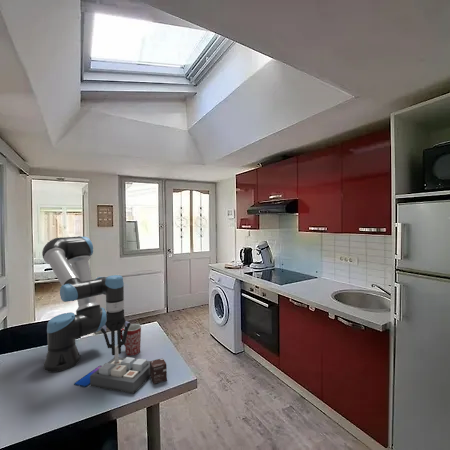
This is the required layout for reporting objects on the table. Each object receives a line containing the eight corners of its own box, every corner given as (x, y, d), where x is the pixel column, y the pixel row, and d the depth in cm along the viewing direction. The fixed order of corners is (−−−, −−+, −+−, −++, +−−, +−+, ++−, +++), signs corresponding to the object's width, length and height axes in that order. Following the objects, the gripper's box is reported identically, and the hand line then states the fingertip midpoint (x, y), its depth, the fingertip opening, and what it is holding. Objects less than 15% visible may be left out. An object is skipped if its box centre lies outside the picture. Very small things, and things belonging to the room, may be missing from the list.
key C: (123, 383, 109) (123, 375, 109) (129, 377, 114) (129, 369, 114) (132, 384, 108) (132, 377, 108) (138, 378, 112) (138, 371, 112)
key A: (109, 370, 119) (109, 363, 119) (116, 365, 123) (115, 358, 123) (117, 372, 118) (117, 365, 118) (124, 366, 122) (123, 360, 122)
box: (152, 384, 111) (152, 367, 111) (150, 377, 116) (149, 361, 116) (167, 380, 114) (166, 363, 114) (163, 373, 119) (163, 357, 119)
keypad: (90, 386, 111) (89, 375, 111) (115, 366, 126) (115, 356, 126) (133, 393, 105) (133, 382, 105) (154, 371, 121) (154, 361, 121)
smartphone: (72, 383, 112) (100, 365, 126) (72, 385, 112) (100, 366, 126) (85, 387, 110) (112, 367, 124) (86, 389, 110) (112, 369, 124)
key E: (132, 370, 116) (132, 363, 116) (138, 365, 120) (138, 358, 120) (141, 371, 114) (141, 364, 114) (146, 366, 119) (146, 359, 119)
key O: (99, 375, 112) (98, 368, 112) (106, 369, 117) (106, 362, 117) (107, 376, 111) (107, 369, 111) (114, 370, 116) (114, 364, 116)
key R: (120, 368, 117) (120, 362, 117) (126, 363, 121) (126, 357, 121) (129, 369, 116) (129, 363, 116) (135, 364, 120) (135, 358, 120)
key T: (110, 377, 111) (110, 369, 111) (117, 371, 115) (117, 364, 115) (119, 378, 110) (119, 370, 110) (126, 372, 114) (126, 365, 114)
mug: (145, 349, 142) (145, 324, 142) (133, 358, 133) (133, 331, 133) (127, 346, 147) (126, 321, 146) (115, 353, 138) (114, 328, 138)
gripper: (100, 315, 114) (101, 369, 114) (131, 309, 120) (133, 360, 120) (98, 310, 120) (100, 361, 120) (128, 305, 126) (130, 353, 127)
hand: (116, 361), depth 120 cm, fingers closed
